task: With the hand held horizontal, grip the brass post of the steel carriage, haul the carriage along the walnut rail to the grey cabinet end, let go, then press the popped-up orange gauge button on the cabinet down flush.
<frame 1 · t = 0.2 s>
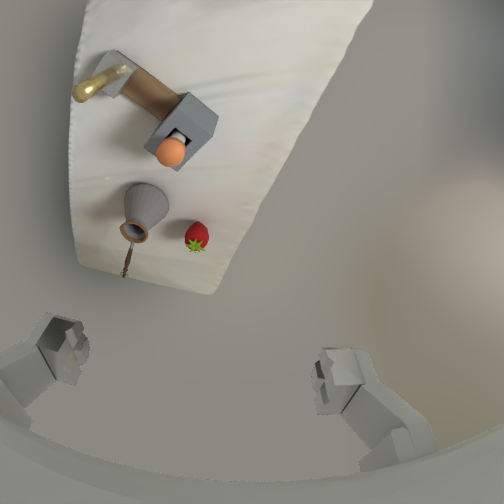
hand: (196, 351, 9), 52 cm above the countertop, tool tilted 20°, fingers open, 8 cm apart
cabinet: (187, 120, 53), on the countertop
strawberry: (199, 222, 74), on the countertop
carriage: (100, 81, 38), point 9 cm above the countertop, slide at 0.0 cm
coffee pot: (145, 210, 71), on the countertop
rail: (139, 84, 46), on the countertop
gauge button: (177, 140, 47), point 10 cm above the countertop, slide at 0.0 cm
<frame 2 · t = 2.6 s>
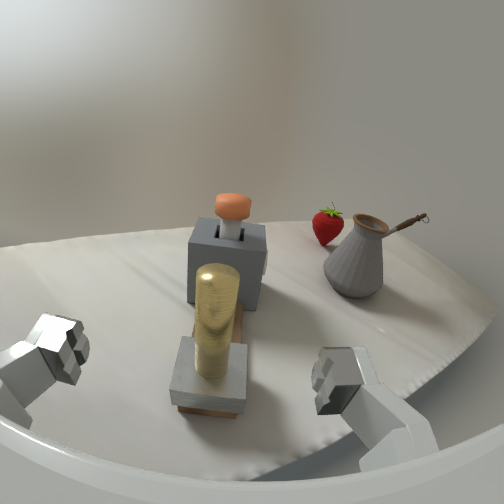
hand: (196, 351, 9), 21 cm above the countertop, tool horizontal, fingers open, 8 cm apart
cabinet: (223, 290, 45), on the countertop
strawberry: (322, 245, 64), on the countertop
carriage: (212, 339, 25), point 9 cm above the countertop, slide at 0.0 cm
coffee pot: (367, 283, 53), on the countertop
rail: (214, 354, 34), on the countertop
gauge button: (229, 236, 40), point 9 cm above the countertop, slide at 0.0 cm
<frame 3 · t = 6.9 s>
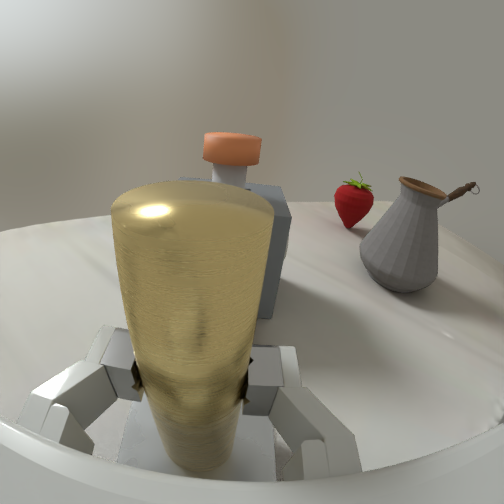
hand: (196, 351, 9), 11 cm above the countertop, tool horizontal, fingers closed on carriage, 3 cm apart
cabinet: (219, 288, 29), on the countertop
strawberry: (346, 228, 48), on the countertop
carriage: (194, 400, 9), point 9 cm above the countertop, slide at 0.0 cm, touching gripper
coffee pot: (413, 273, 37), on the countertop
gauge button: (227, 198, 25), point 10 cm above the countertop, slide at 0.0 cm
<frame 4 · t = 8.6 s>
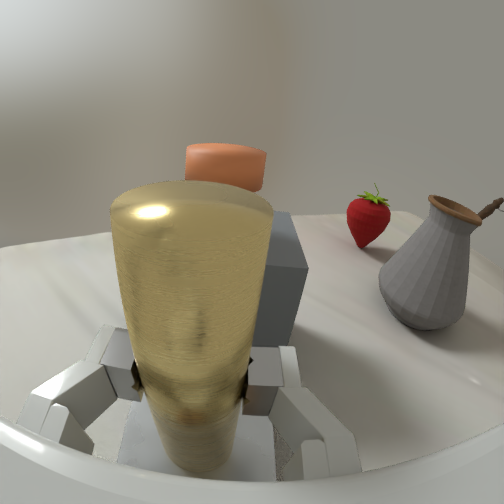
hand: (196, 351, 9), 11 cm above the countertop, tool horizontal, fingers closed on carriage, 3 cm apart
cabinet: (213, 338, 23), on the countertop
strawberry: (359, 248, 42), on the countertop
carriage: (194, 400, 9), point 9 cm above the countertop, slide at 7.0 cm, touching gripper
coffee pot: (434, 302, 31), on the countertop
gauge button: (219, 234, 19), point 10 cm above the countertop, slide at 0.0 cm
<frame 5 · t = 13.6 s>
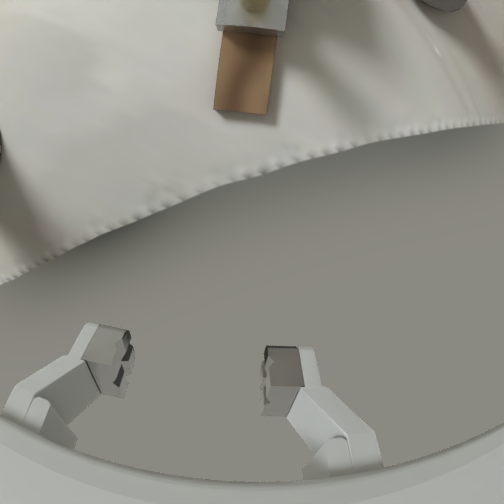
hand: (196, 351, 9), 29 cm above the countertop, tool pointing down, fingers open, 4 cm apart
rail: (248, 43, 27), on the countertop
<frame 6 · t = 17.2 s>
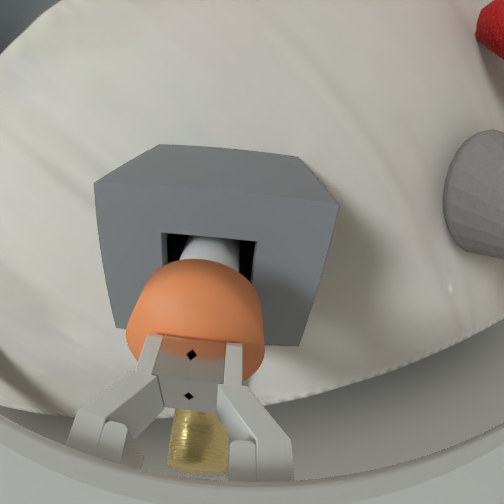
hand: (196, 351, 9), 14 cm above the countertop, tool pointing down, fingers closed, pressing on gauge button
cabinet: (222, 201, 21), on the countertop
strawberry: (476, 35, 13), on the countertop
carriage: (206, 372, 18), point 9 cm above the countertop, slide at 10.0 cm
coffee pot: (501, 179, 20), on the countertop
gauge button: (209, 262, 14), point 9 cm above the countertop, slide at 0.7 cm, touching gripper
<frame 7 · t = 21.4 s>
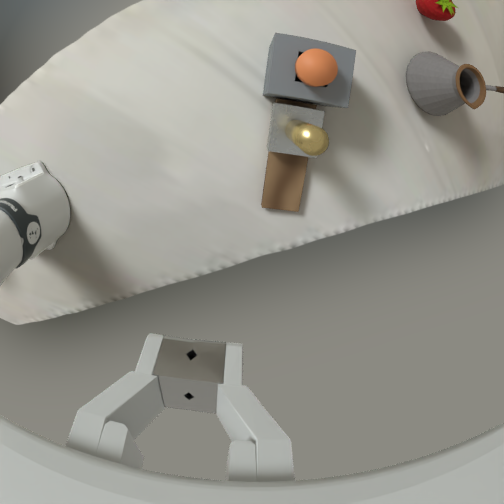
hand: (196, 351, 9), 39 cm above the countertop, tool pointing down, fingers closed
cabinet: (299, 76, 37), on the countertop
strawberry: (420, 11, 29), on the countertop
carriage: (301, 133, 34), point 9 cm above the countertop, slide at 10.0 cm
coffee pot: (445, 84, 36), on the countertop
rail: (287, 155, 44), on the countertop
gauge button: (308, 71, 31), point 7 cm above the countertop, slide at 2.5 cm
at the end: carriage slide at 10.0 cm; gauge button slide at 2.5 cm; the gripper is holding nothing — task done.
